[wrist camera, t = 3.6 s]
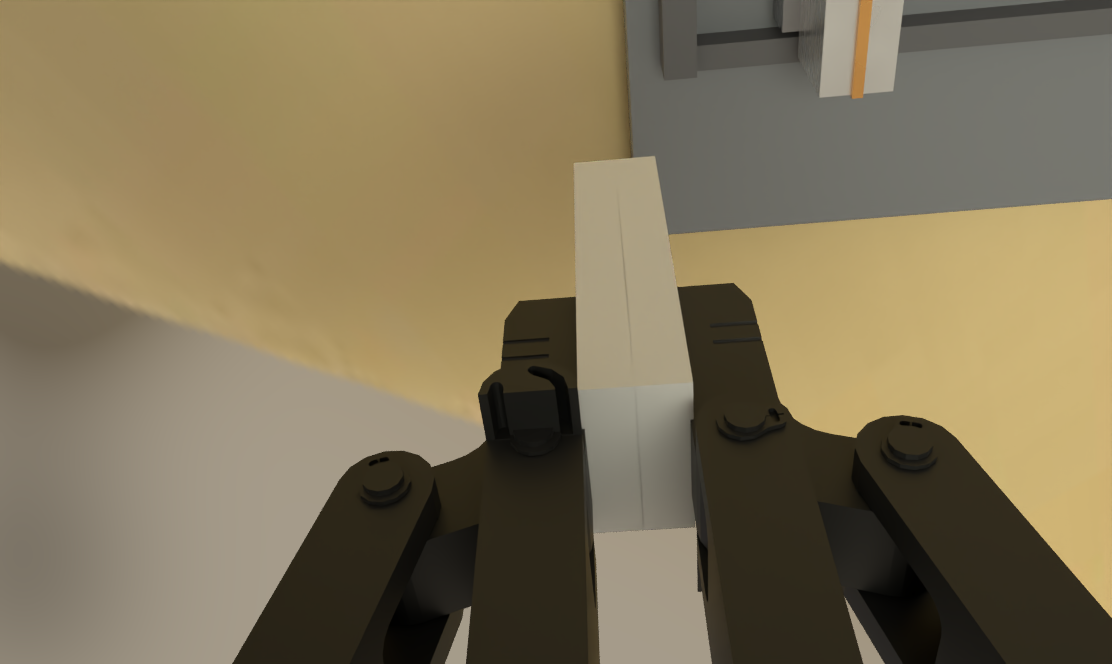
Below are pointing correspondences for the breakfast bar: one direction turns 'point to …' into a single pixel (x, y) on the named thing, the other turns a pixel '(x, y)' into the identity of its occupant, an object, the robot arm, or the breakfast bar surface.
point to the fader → (845, 43)
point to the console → (870, 113)
